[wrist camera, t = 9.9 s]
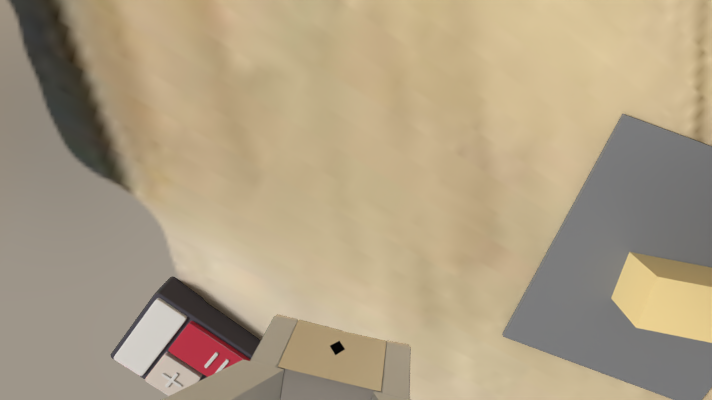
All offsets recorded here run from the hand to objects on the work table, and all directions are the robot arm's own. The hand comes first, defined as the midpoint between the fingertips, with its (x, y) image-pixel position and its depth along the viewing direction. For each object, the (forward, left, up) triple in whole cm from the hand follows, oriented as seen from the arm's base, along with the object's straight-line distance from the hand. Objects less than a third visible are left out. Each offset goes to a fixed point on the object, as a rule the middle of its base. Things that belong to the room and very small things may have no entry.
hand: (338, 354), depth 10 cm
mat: (+4, +29, -33) cm, 44 cm away
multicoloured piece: (+31, -12, -34) cm, 47 cm away
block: (+6, +25, -30) cm, 40 cm away
